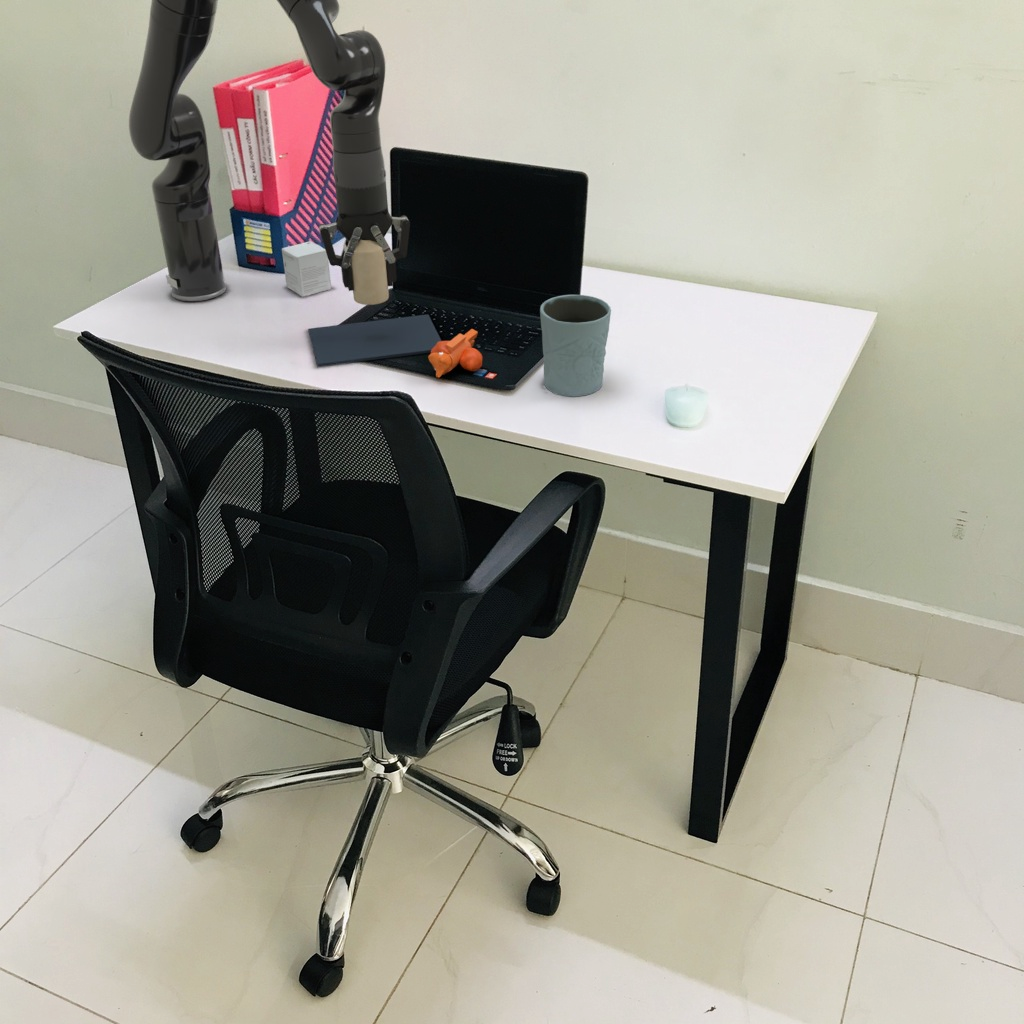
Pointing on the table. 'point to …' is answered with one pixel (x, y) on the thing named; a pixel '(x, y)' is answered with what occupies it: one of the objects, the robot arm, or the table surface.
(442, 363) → the orange toy bird
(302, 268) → the product box
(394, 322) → the desk mat
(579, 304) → the grey green cup
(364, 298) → the candle
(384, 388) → the table surface
